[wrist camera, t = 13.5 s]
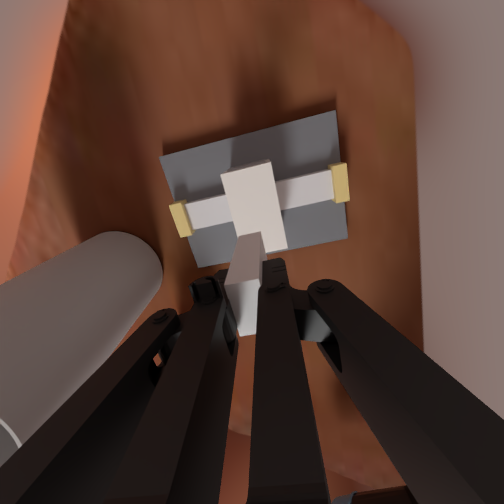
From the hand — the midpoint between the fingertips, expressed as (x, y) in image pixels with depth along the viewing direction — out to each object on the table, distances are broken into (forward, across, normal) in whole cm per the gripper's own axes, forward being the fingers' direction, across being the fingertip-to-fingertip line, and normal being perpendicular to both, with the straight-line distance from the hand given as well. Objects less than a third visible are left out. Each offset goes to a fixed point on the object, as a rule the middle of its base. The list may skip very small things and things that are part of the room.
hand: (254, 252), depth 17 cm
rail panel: (+19, 0, 0) cm, 19 cm away
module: (+17, 0, -1) cm, 17 cm away
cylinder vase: (+19, +23, +6) cm, 31 cm away
